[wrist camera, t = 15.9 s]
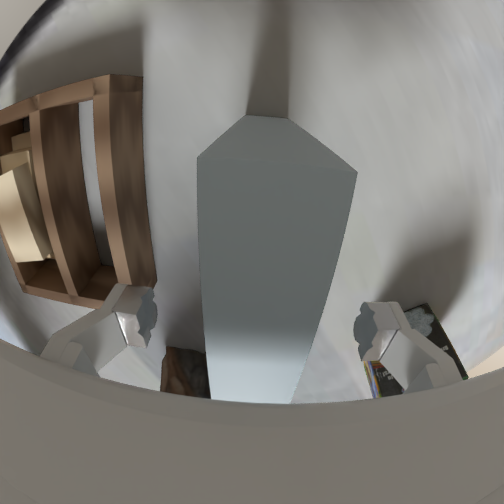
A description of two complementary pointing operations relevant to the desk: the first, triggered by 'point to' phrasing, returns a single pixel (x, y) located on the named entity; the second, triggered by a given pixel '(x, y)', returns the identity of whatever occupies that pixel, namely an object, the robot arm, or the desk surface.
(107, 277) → the walnut rack
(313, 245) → the tall sheet
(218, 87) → the desk surface
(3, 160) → the middle pine offcut
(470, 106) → the desk surface
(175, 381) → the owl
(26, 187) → the short pine offcut
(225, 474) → the robot arm
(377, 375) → the chalk box
